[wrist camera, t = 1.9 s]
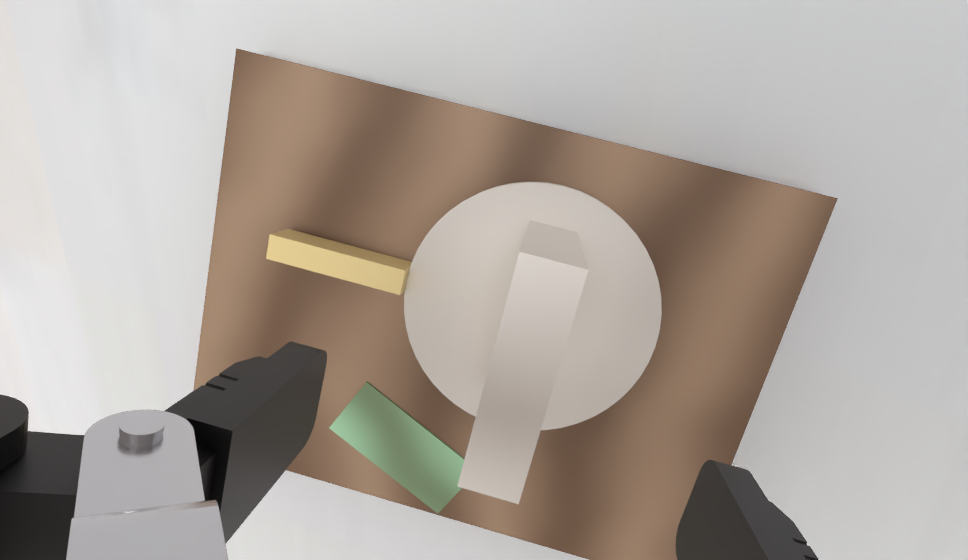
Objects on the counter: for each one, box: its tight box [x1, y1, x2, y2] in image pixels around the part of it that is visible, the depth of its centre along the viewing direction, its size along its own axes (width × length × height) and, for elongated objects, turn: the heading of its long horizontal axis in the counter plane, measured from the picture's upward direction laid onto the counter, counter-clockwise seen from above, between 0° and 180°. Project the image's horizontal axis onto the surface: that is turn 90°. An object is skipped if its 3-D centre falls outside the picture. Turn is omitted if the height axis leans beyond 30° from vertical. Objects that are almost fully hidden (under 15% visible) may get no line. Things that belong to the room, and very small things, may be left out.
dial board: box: [194, 49, 838, 560], centre depth 25 cm, size 24×18×2 cm
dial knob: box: [266, 181, 662, 504], centre depth 19 cm, size 16×10×8 cm, turn 76°
